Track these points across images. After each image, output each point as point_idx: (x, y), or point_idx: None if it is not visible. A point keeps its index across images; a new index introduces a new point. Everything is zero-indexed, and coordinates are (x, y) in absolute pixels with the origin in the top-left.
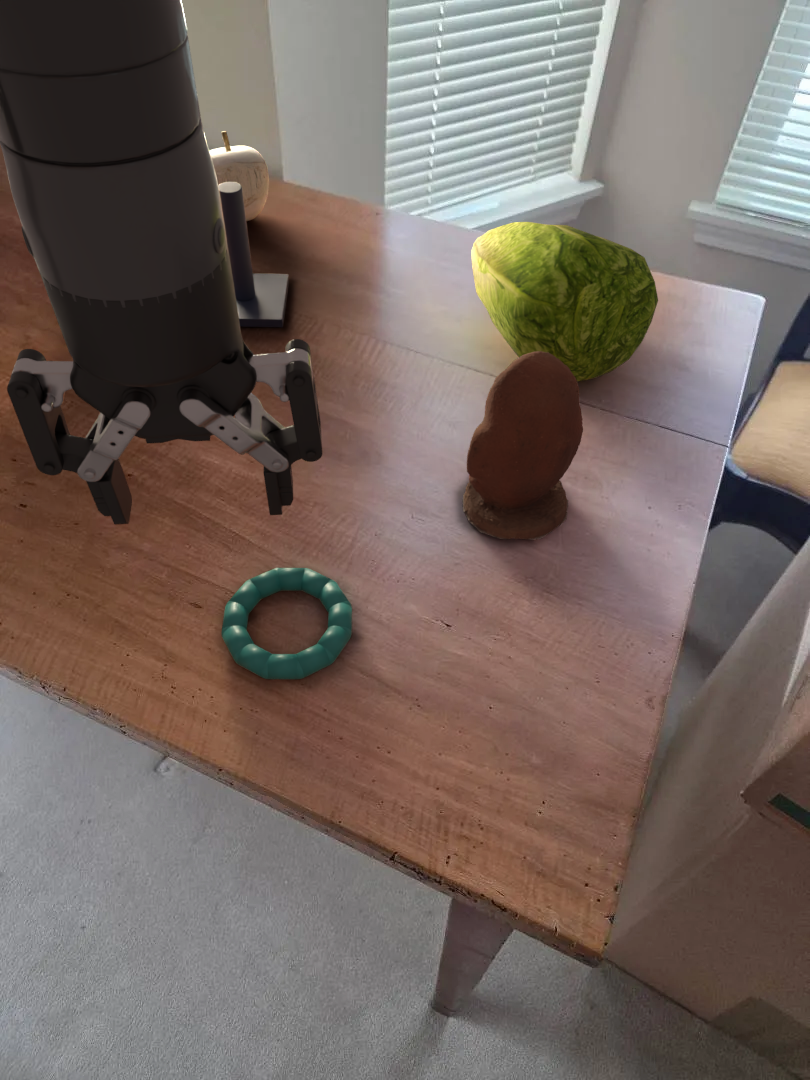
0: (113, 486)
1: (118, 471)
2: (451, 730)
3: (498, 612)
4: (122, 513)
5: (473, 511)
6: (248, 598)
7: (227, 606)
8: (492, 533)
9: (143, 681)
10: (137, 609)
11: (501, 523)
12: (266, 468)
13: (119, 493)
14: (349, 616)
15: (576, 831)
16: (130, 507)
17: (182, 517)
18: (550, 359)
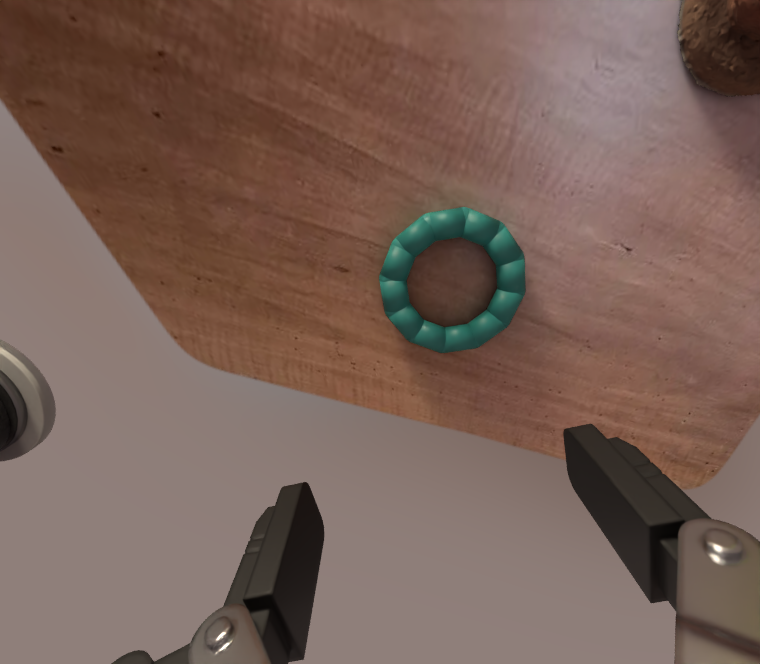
0: (306, 633)
1: (291, 581)
2: (618, 365)
3: (691, 221)
4: (319, 560)
5: (704, 49)
6: (405, 270)
7: (384, 284)
8: (719, 88)
9: (322, 362)
10: (280, 285)
11: (747, 74)
12: (659, 592)
13: (307, 579)
14: (524, 274)
15: (711, 430)
16: (312, 501)
17: (272, 131)
18: None
